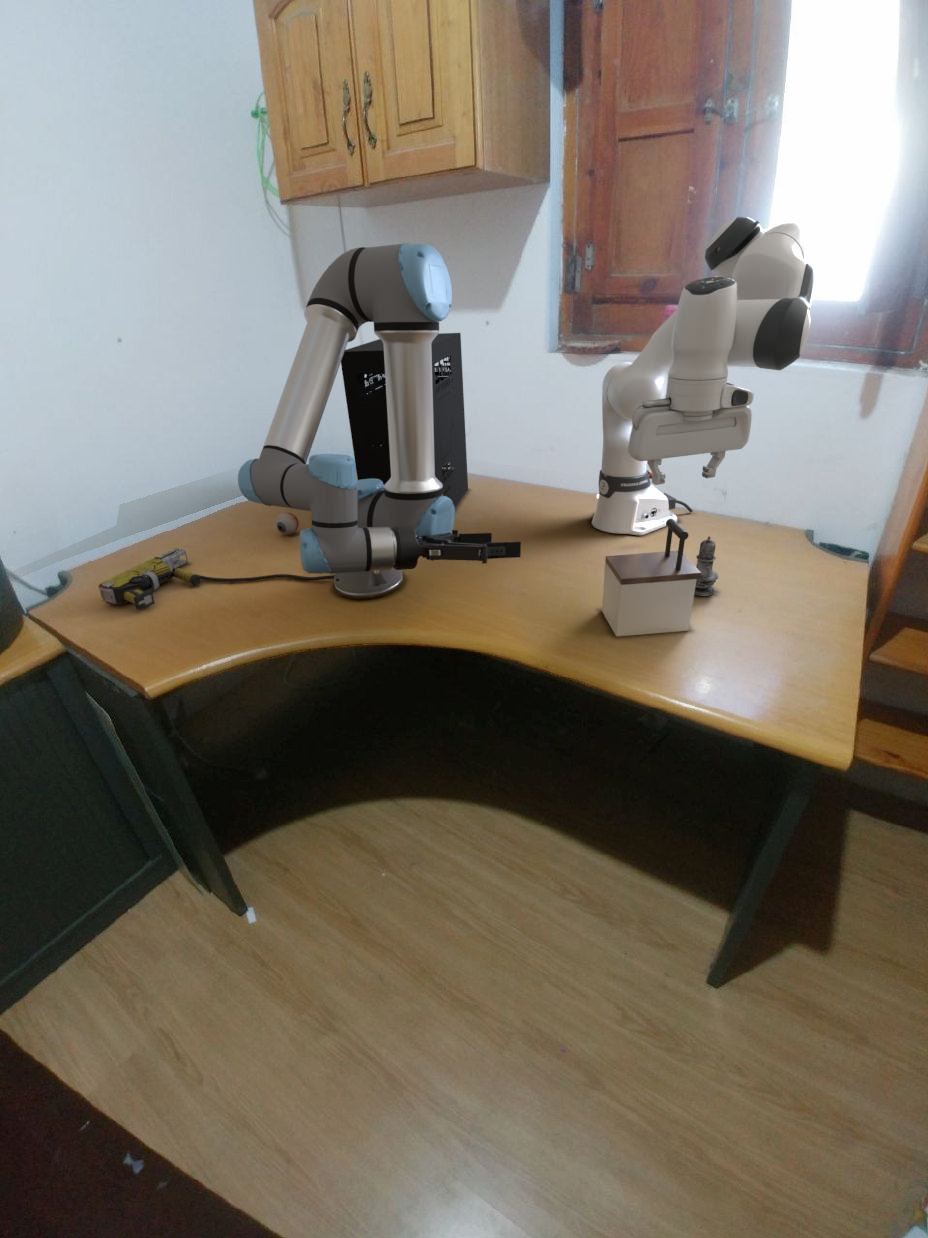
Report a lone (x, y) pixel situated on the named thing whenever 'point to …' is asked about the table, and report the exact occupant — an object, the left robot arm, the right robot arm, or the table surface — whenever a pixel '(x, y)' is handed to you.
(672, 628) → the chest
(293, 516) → the eyeball
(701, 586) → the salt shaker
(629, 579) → the lid
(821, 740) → the table surface
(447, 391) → the cardboard box
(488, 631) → the table surface
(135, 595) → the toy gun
